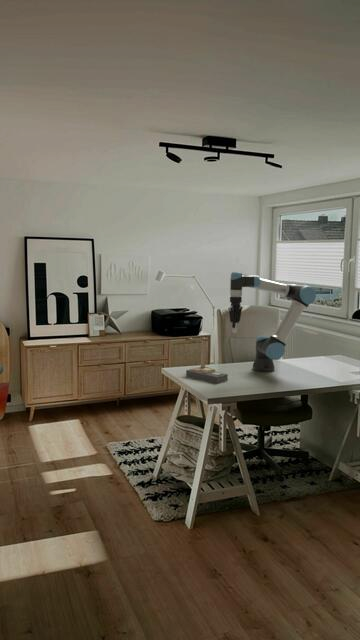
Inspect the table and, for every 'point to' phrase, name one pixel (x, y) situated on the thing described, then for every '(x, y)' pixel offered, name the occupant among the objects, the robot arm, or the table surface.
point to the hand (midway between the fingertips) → (234, 332)
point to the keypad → (207, 376)
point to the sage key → (216, 374)
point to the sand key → (206, 370)
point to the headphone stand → (203, 354)
